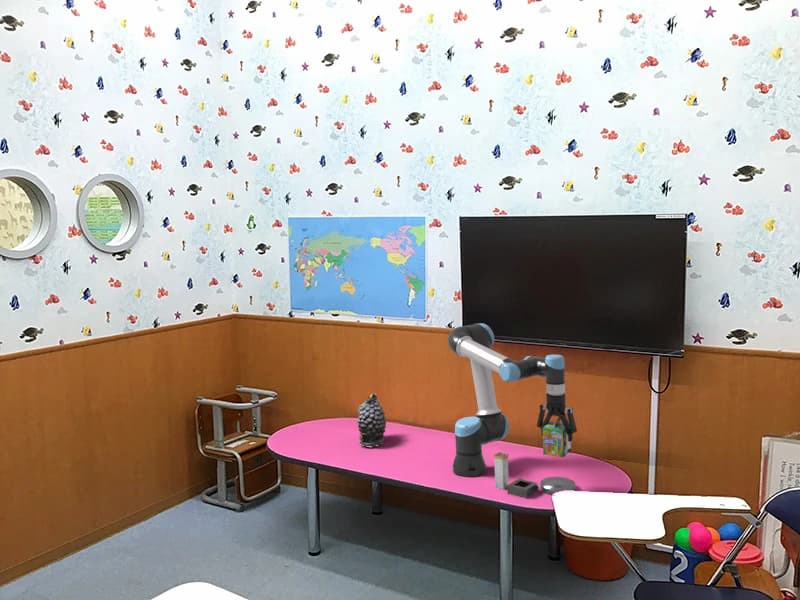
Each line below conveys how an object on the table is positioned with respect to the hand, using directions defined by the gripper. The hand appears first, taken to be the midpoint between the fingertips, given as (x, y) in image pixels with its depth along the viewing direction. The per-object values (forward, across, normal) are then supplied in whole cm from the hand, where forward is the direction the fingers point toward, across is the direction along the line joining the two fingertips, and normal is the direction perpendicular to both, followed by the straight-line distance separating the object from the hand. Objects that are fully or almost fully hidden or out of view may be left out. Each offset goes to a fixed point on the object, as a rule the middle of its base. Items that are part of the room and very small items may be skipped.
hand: (557, 446), depth 284 cm
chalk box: (+3, 0, 0) cm, 3 cm away
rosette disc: (+18, 0, 0) cm, 18 cm away
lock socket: (+18, -10, -11) cm, 23 cm away
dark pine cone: (+18, -106, +2) cm, 108 cm away
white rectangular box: (+18, -20, -11) cm, 29 cm away
